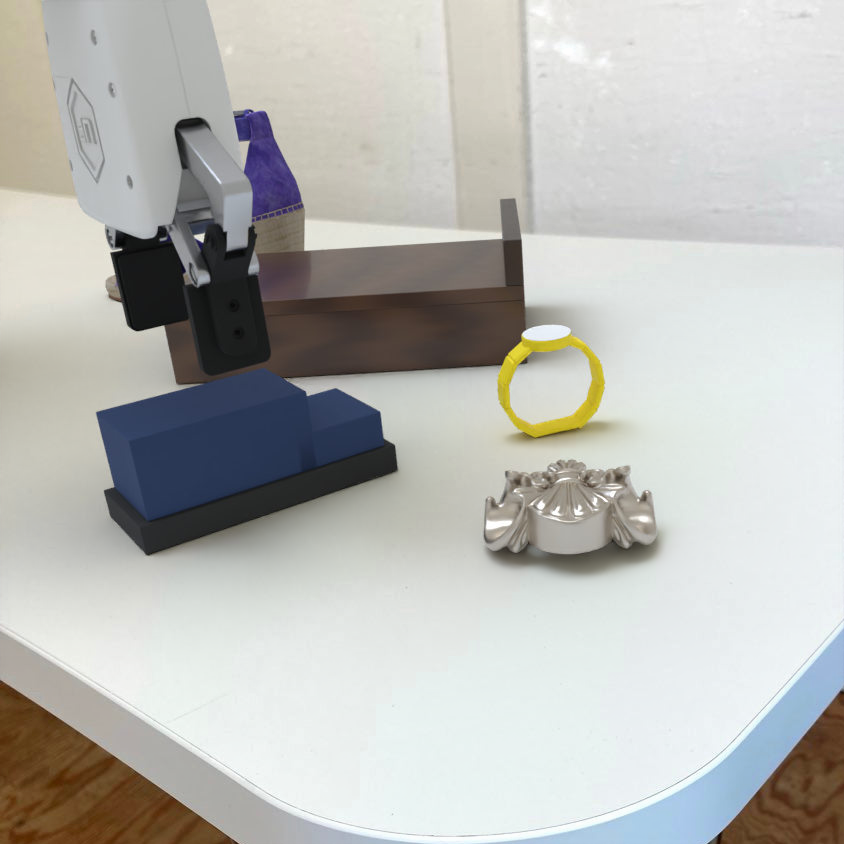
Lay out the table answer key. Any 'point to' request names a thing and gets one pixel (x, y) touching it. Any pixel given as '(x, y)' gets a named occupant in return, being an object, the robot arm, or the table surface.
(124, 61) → the robot arm
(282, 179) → the sandal
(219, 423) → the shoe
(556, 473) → the ornament
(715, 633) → the table surface
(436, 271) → the wooden riser with lip
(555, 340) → the watch
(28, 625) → the table surface
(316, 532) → the table surface
